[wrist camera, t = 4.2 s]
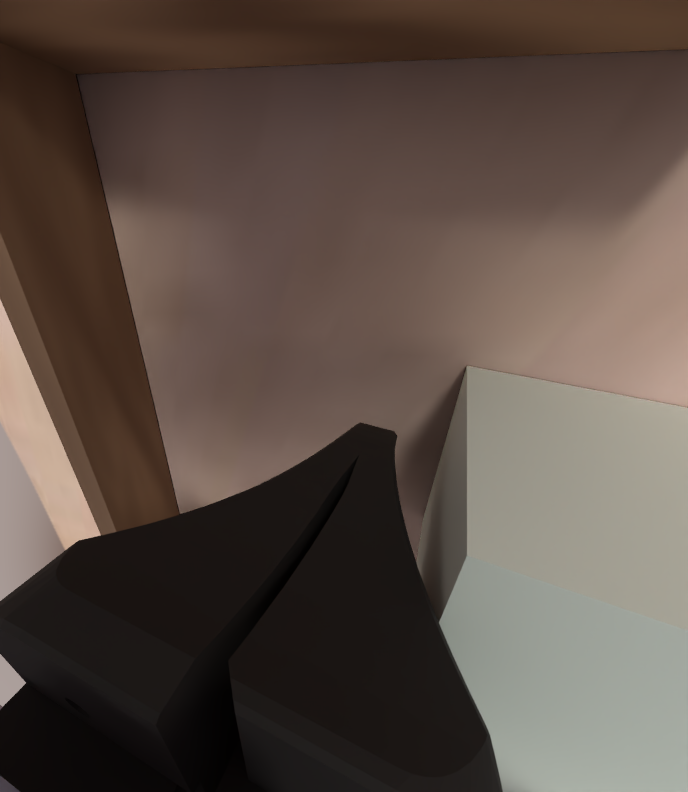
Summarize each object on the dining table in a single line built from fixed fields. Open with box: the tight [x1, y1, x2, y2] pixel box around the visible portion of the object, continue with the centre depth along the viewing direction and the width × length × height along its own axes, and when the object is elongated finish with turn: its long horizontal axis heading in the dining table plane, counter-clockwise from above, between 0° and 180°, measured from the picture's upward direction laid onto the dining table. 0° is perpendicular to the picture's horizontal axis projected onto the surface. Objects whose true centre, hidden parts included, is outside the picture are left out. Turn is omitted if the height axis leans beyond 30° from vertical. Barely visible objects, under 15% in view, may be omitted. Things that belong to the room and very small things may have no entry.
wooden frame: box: [0, 0, 688, 535], centre depth 10 cm, size 16×20×3 cm
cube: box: [416, 366, 688, 792], centre depth 7 cm, size 6×6×6 cm
